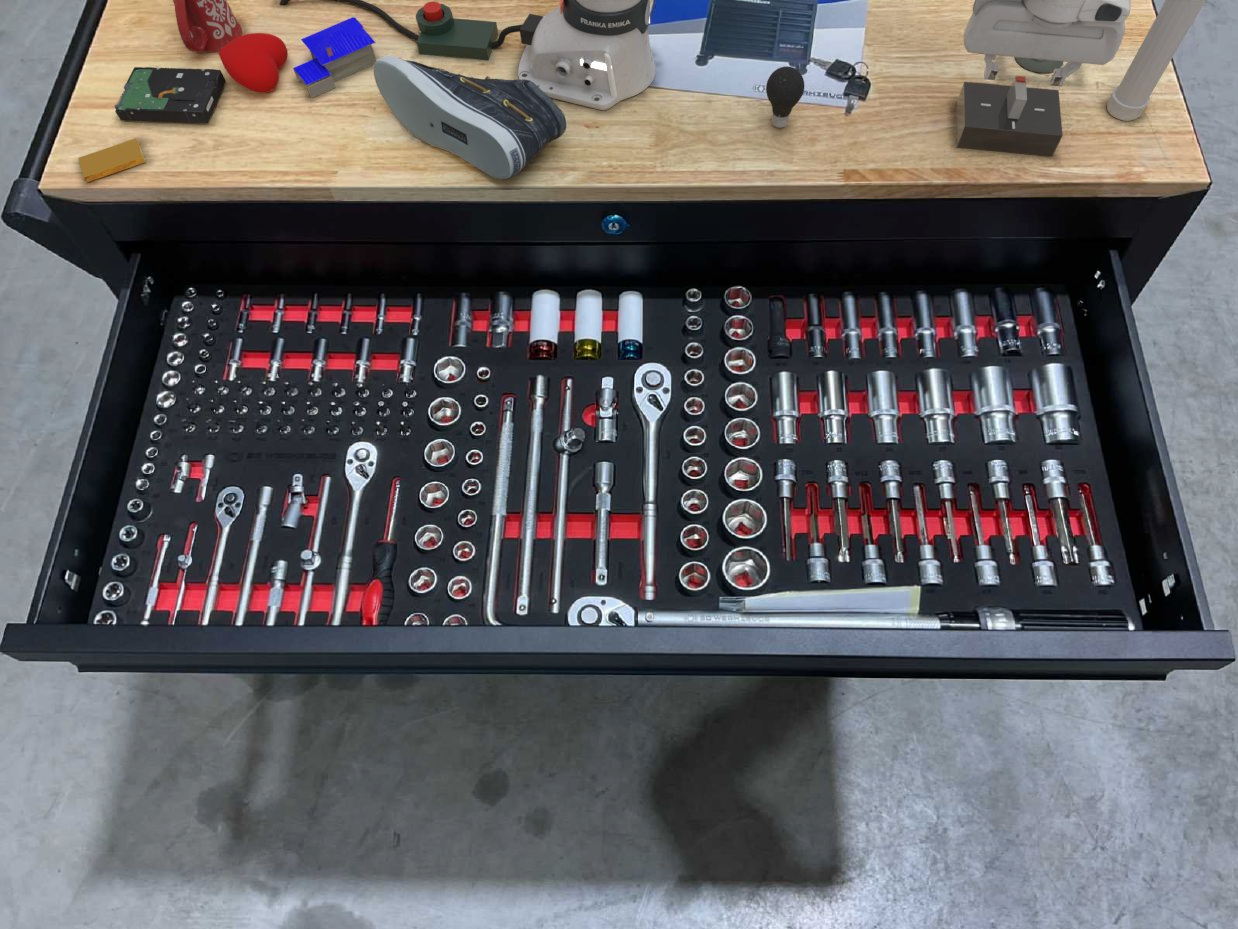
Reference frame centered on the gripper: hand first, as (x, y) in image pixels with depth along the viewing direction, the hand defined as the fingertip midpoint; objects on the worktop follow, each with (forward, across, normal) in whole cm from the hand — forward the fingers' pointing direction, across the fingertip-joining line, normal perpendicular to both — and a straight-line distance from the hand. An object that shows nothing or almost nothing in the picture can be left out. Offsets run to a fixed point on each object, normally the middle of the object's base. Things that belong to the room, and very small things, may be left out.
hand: (1022, 80), depth 130 cm
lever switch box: (+9, 0, 0) cm, 9 cm away
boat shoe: (+4, -84, -17) cm, 86 cm away
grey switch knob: (+5, 0, 0) cm, 5 cm away
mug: (-4, -131, +4) cm, 131 cm away
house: (+10, -106, +1) cm, 107 cm away
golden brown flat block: (+10, -137, -24) cm, 139 cm away
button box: (+10, -89, +8) cm, 90 cm away
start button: (+6, -93, +10) cm, 93 cm away
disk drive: (+10, -131, -12) cm, 132 cm away
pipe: (+9, +18, +7) cm, 21 cm away
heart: (+6, -125, -4) cm, 125 cm away
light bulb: (+9, -34, -4) cm, 35 cm away
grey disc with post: (+9, +6, +18) cm, 21 cm away
